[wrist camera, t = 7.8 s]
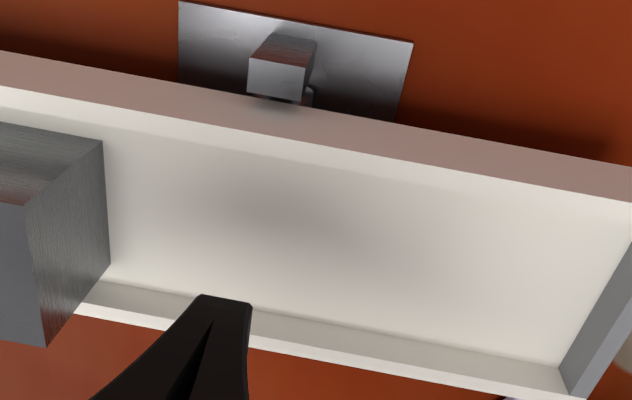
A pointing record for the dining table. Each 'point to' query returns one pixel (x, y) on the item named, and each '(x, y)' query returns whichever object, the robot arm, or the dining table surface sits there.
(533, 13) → the dining table surface
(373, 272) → the beam
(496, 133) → the dining table surface
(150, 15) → the dining table surface
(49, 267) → the grey block
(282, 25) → the stand
